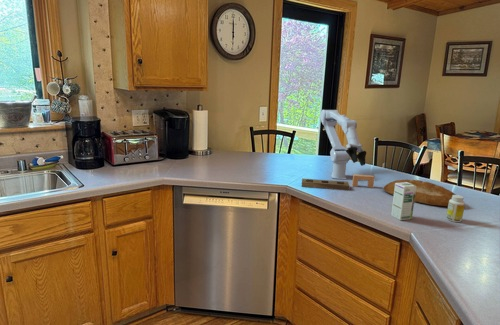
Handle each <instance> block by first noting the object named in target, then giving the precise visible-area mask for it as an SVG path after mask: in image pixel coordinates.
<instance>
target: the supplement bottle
mask: <svg viewBox="0 0 500 325" xmlns="http://www.w3.org/2000/svg"><path fill="white" fill-rule="evenodd" d="M464 199H465V198H464V196H462V195H458V194H456V195H452V199H450V200H449V204H448V206H447V212H446V216H445V217H446V220H447V221H450V222H454V223H461V222H462V221H463V217H464V210H465V206H466V205H465V204H466V202H465V200H464Z"/></svg>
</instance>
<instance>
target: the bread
mask: <svg viewBox="0 0 500 325" xmlns="http://www.w3.org/2000/svg"><path fill="white" fill-rule="evenodd" d="M404 182H408V183H411V184H414V185H415V186H416V193H415V200H414V203H419V204H424V205H431V206H439V207H448V204H449V200H450V199H452V195H457V194H455V193H454V192H453V191H451V190H449V189H447V188H445V187H444V186H442V185H437V184H434V183H433V182H430V181H423V180H418V179H398V180H394V181H392V182H391V181H390V182H389V183H387V184H385V185H384V187H382V190H383V191H385V192H386V193H387V194H389V195H391V196H392V195H393V196H394V189H395V183H404Z"/></svg>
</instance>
